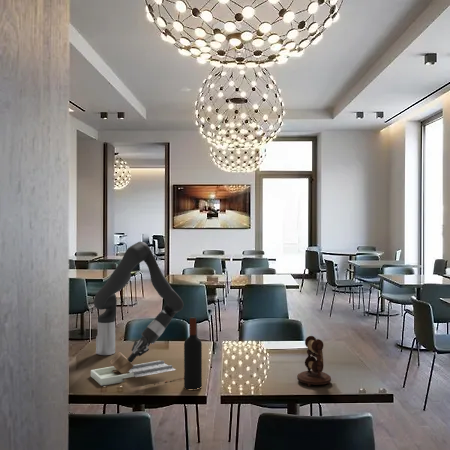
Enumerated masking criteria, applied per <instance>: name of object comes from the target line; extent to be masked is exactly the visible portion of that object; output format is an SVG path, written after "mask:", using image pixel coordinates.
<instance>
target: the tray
mask: <svg viewBox="0 0 450 450" xmlns="http://www.w3.org/2000/svg"><path fill="white" fill-rule="evenodd" d="M116 370H117V369H116V368H115V367H114V366H113V365H112V366H107V367H102V368H95V369H90V377H91V378H92V379H93V380H94V381H95V382H96V383H98V385H100V386H101V387H104V386H108V385H114V384H118V383H123V382H126V380H124V379H128V378H134V377H135V376H134V373H129V372H128V373H127V374H122V373H121V374H117V373H115V372H114V371H116ZM117 371H118V370H117Z"/></svg>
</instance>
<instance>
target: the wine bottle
mask: <svg viewBox="0 0 450 450" xmlns="http://www.w3.org/2000/svg"><path fill="white" fill-rule="evenodd" d="M202 346H203V344H202V340H201V339H200V338H199V337H198V336H197V317H193V316H192V317H191V316H190V317H189V337H187V338H186V339H185V340H184V343H183V358H184V359H183V360H184V361H183V373H184V375H183V376H184V377H183V382H184V384H183V388H184V387H185V388H186V389H185V388H184V389H185V390H187V389H197V388H200V387H201V386H202V382H203V380H202V379H203V377H202V376H203V375H202V374H203V373H202V369H203V368H202V367H203V365H202V364H203V359H202V356H203V355H202V354H203V353H202V350H203V347H202Z"/></svg>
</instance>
